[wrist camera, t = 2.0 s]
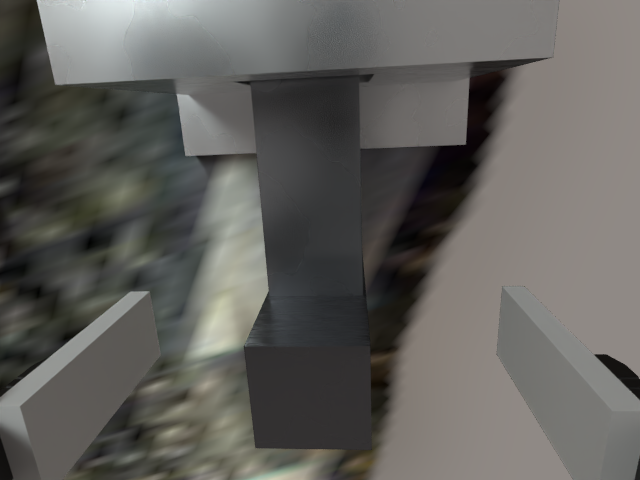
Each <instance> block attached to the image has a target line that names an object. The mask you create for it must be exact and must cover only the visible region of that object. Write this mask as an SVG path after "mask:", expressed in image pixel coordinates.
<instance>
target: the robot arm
mask: <svg viewBox="0 0 640 480" xmlns="http://www.w3.org/2000/svg"><path fill="white" fill-rule="evenodd" d="M160 355H161V354H160V348H159V343H158V337H157V331H156V325H155V320H154V314H153V308H152V302H151V296H150V291H149V292H130V293H128V294H127V295H126V296H125V297H123V298H122V299H121V300H120V301H118V302H117V303H116V304H115V305H113V306H112V307H111V308H110V309H109V310H107V311H106V312H105V313H104V314H102V315H101V316H100V317H99V318H97V319H96V320H95V321H94V322H92V323H91V324H90V325H89V326H88V327H86V328H85V329H84V330H83V331H81V332H80V333H79V334H78V335H76V336H75V337H74V338H73V339H71V340H70V341H69V342H68V343H67V344H65V345H64V346H63V347H62V348H60V349H59V350H58V351H57V352H55V353H54V354H53V355H52V356H50V357H48V358H46V359H44V360H42V361H40V362H38V363H36V364H35V365H33V366H31V367H30V368H28V369H27V370H26V371H25V372H23V373H22V374H21V375H20V376H18V379H14V380H13V381H12V382H11V383H9V384H8V385H7V387H6V388H3V389H2V390H1V391H0V480H62V479H63V478H64V477H65V476H66V474H67V473H68V472H69V470H70V469H71V468H72V467H73V465H74V464H75V463H76V462H77V460H78V459H79V458H80V457H81V455H82V454H83V453H84V451H85V450H86V449H87V448H88V446H89V445H90V444H91V443H92V441H93V440H94V439H95V437H96V436H97V435H98V434H99V432H100V431H101V430H102V429H103V427H104V426H105V425H106V423H107V422H108V421H109V420H110V418H111V417H112V416H113V415H114V413H115V412H116V411H117V410H118V408H119V407H120V406H121V404H122V403H123V402H124V401H125V399H126V398H127V397H128V396H129V394H130V393H131V392H132V390H133V389H134V388H135V387H136V385H137V384H138V383H139V382H140V380H141V379H142V378H143V376H144V375H145V374H146V373H147V371H148V370H149V369H150V368H151V366H152V365H153V364H154V363H155V361H156V360H157V359H158V357H159V356H160ZM497 356H498V357H499V359H500V360H501V362H502V364H503V365H504V367H505V369H506V370H507V372H508V374H509V375H510V377H511V379H512V380H513V382H514V383H515V385H516V387H517V388H518V390H519V391H520V393H521V395H522V396H523V398H524V400H525V401H526V403H527V405H528V406H529V408H530V410H531V411H532V413H533V415H534V416H535V418H536V420H537V421H538V423H539V424H540V426H541V428H542V429H543V431H544V433H545V434H546V436H547V438H548V439H549V441H550V443H551V444H552V446H553V447H554V449H555V451H556V452H557V454H558V456H559V457H560V459H561V461H562V462H563V464H564V465H565V467H566V469H567V470H568V472H569V474H570V475H571V477H572V479H573V480H640V379H639V377H638V376H637V375H636V374H635V373H634V372H633V371H632V370H630V369H629V368H628V367H627V366H626V365H625V364H623V363H621V362H619V361H617V360H615V359H614V358H612V357H610V356H608V355H604V354H603V355H597V354H596V355H594V354H593V353H592V352H590V351H589V350H588V349H587V348H586V347H585V346H584V345H583V344H582V343H581V342H580V341H579V340H578V339H577V338H576V337H575V336H574V335H573V334H572V333H571V332H570V331H569V330H568V329H567V328H566V327H565V326H564V325H563V324H562V323H561V322H560V321H559V320H558V319H557V318H556V317H555V316H554V315H553V314H552V313H551V312H550V311H549V310H548V309H547V308H546V307H545V306H544V305H543V304H542V303H541V302H540V301H539V300H538V299H537V298H536V297H535V296H534V295H533V294H532V293H531V292H530V291H529V290H528V289H527V288H526V287H525V286H503V287H502V295H501V308H500V319H499V331H498V344H497Z"/></svg>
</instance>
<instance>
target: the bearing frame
mask: <svg viewBox="0 0 640 480" xmlns="http://www.w3.org/2000/svg"><path fill="white" fill-rule="evenodd" d="M37 3H38V7H39V12H40V17H41V21H42V26H43V30H44V35H45V39H46V44H47V49H48V53H49V58H50V62H51V67H52V71H53V76H54V81H55V85H63V86H76V87H89V88H102V89H115V90H128V91H141V92H154V93H167V94H177V98H178V105H179V112H180V119H181V127H182V134H183V141H184V148H185V155H186V156H196V155H221V154H246V153H257V152H256V141H255V130H254V119H253V108H252V97H251V85H250V81H254V80H272V79H291V78H309V77H327V76H346V75H359V103H360V149H369V148H394V147H419V146H444V145H466V132H467V115H468V97H469V79H470V78H471V77H476V76H480V75H484V74H488V73H492V72H496V71H500V70H504V69H508V68H512V67H516V66H520V65H524V64H528V63H532V62H536V61H540V60H544V59H548V58H552V57H553V54H554V45H555V36H556V27H557V26H556V25H557V17H558V8H559V0H37Z"/></svg>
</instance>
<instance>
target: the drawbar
mask: <svg viewBox="0 0 640 480" xmlns="http://www.w3.org/2000/svg"><path fill="white" fill-rule="evenodd" d="M250 85H251V97H252V108H253V119H254V130H255V141H256V152H257V164H258V175H259V186H260V197H261V208H262V220H263V231H264V242H265V253H266V264H267V276H268V287H269V292H268V294H267V296H266V298H265V301H264V303H263V305H262V307H261V310H260V312H259V314H258V316H257V319H256V321H255V323H254V325H253V328H252V330H251V332H250V334H249V337H248V339H247V341H246V343H245V346H244V351H245V360H246V369H247V378H248V386H249V395H250V404H251V413H252V422H253V430H254V439H255V448H283V449H347V450H372V447H371V363H370V337H369V325H368V313H367V301H366V290H365V278H364V266H363V254H362V219H361V161H360V103H359V75H346V76H327V77H309V78H291V79H272V80H254V81H250Z"/></svg>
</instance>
